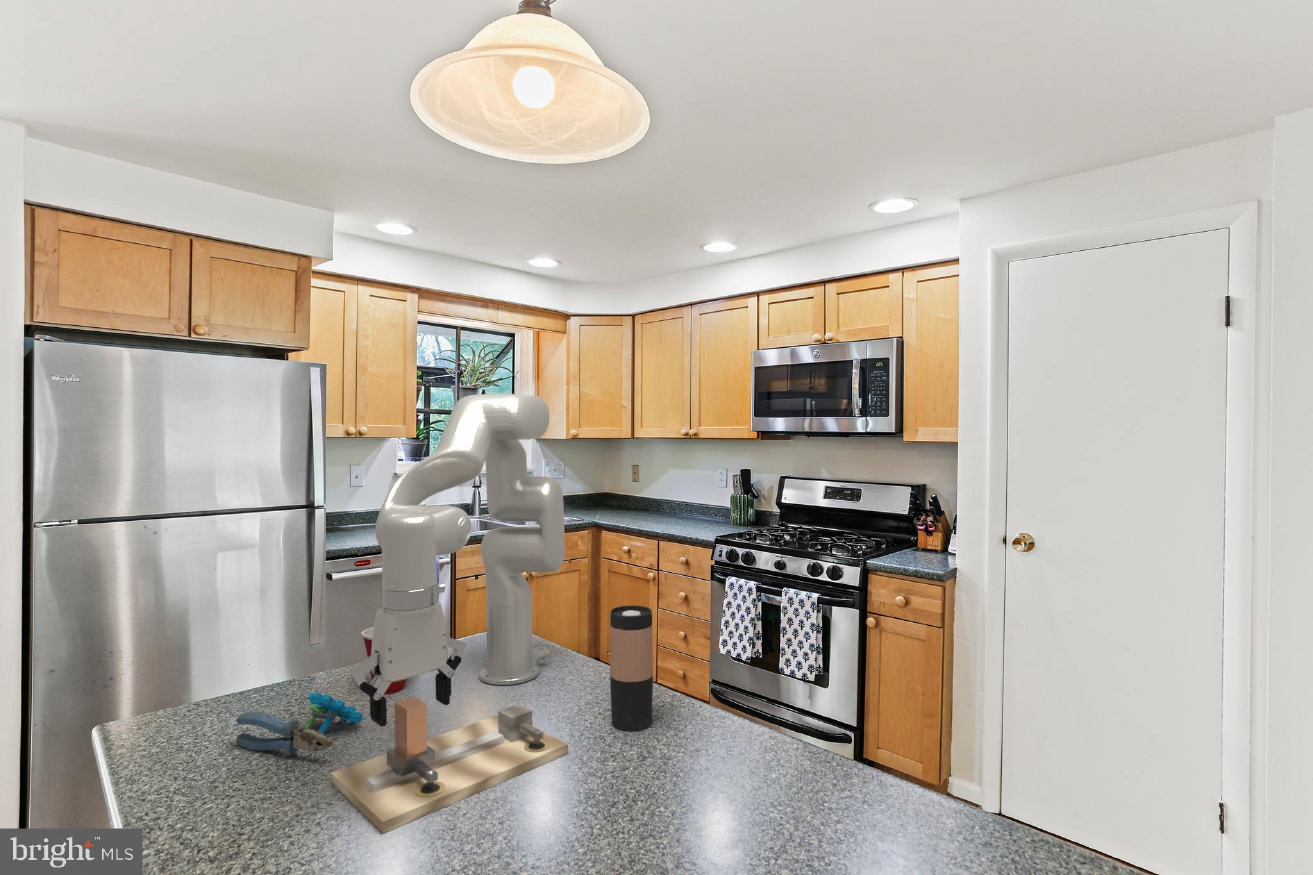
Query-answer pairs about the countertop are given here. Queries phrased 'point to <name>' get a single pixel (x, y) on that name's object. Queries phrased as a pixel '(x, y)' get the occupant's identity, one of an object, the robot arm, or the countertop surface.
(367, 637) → the plastic cup
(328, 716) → the gear
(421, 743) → the block
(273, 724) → the pliers
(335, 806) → the countertop surface
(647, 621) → the travel mug
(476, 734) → the wooden slide jig
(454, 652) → the robot arm
